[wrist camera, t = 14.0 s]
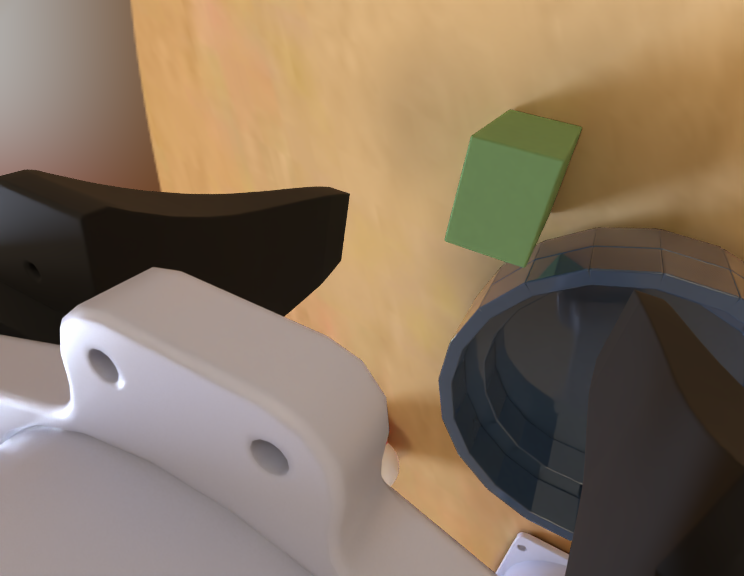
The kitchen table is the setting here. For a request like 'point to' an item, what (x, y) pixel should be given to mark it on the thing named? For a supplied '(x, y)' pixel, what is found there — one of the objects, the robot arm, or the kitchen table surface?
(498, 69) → the kitchen table surface
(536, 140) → the green block
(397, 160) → the kitchen table surface
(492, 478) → the bowl
